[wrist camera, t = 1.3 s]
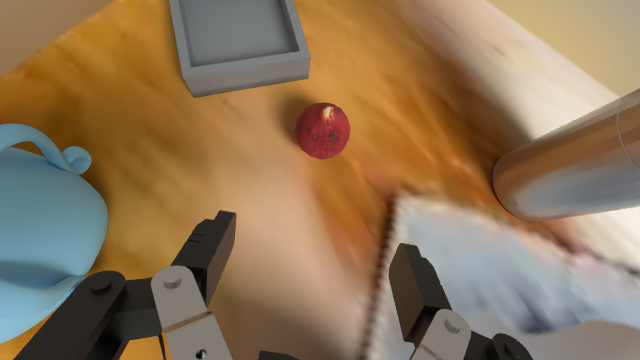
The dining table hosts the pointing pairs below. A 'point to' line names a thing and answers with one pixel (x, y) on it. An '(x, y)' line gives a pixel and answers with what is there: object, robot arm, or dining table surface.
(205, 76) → the bin
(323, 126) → the onion
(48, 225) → the decorative pot
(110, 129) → the dining table surface
